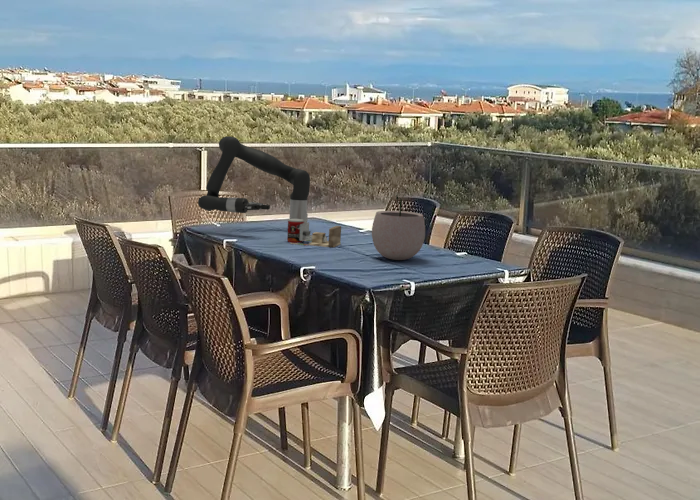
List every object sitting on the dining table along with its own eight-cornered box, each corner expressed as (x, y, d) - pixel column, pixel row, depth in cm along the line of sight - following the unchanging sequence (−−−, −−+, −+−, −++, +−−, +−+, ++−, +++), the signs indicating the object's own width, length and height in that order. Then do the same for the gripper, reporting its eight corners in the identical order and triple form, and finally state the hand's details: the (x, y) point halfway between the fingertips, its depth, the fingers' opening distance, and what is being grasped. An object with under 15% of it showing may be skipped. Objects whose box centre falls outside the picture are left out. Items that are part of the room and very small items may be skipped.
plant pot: (415, 255, 382) (420, 191, 377) (429, 264, 358) (434, 196, 354) (365, 254, 377) (369, 189, 373) (376, 263, 354) (380, 194, 349)
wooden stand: (289, 243, 395) (290, 225, 394) (300, 239, 409) (300, 222, 408) (332, 248, 389) (333, 229, 388) (341, 243, 404) (342, 225, 402)
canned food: (284, 242, 400) (285, 219, 398) (290, 240, 407) (291, 218, 405) (299, 243, 398) (300, 221, 396) (305, 241, 405) (306, 219, 403)
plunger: (299, 240, 397) (300, 224, 395) (305, 238, 405) (306, 222, 404) (323, 243, 393) (324, 226, 392) (329, 240, 402) (329, 224, 401)
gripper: (231, 199, 402) (264, 201, 397) (242, 196, 414) (274, 198, 409) (231, 214, 403) (264, 216, 398) (242, 211, 415) (274, 213, 411)
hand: (269, 207), depth 404 cm, fingers closed
